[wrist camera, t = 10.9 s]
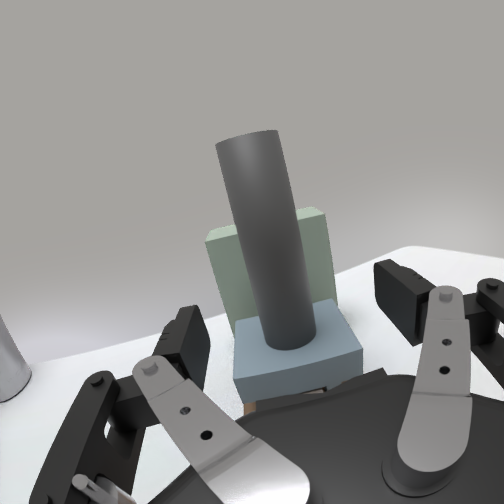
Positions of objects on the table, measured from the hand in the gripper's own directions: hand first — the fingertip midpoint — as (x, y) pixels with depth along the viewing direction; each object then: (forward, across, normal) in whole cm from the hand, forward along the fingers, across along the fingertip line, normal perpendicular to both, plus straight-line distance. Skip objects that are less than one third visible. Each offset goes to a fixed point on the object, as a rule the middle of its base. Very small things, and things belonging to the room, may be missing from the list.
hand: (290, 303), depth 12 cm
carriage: (+5, 0, +9) cm, 11 cm away
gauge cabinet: (+13, 0, +11) cm, 17 cm away
